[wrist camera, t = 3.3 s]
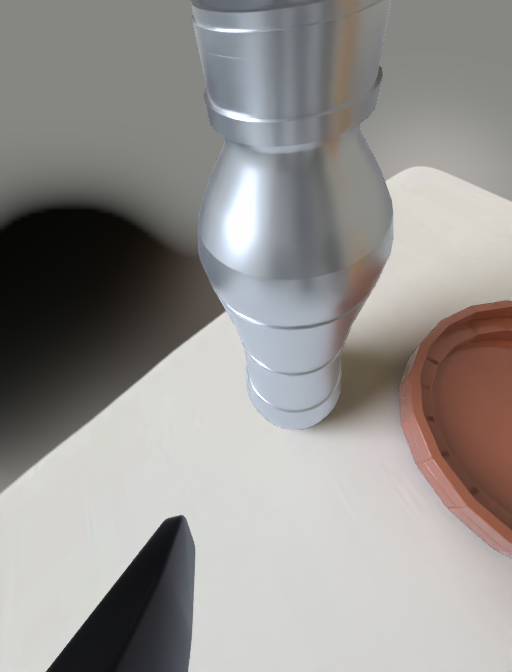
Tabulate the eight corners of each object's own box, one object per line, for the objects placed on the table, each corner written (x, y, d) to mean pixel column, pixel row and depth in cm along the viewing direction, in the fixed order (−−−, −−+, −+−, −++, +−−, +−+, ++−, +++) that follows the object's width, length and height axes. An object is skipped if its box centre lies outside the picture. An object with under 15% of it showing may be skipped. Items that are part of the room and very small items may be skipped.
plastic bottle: (247, 435, 21) (32, 78, 4) (254, 351, 24) (160, -29, 7) (340, 439, 20) (613, 1, 3) (333, 352, 23) (438, -77, 6)
